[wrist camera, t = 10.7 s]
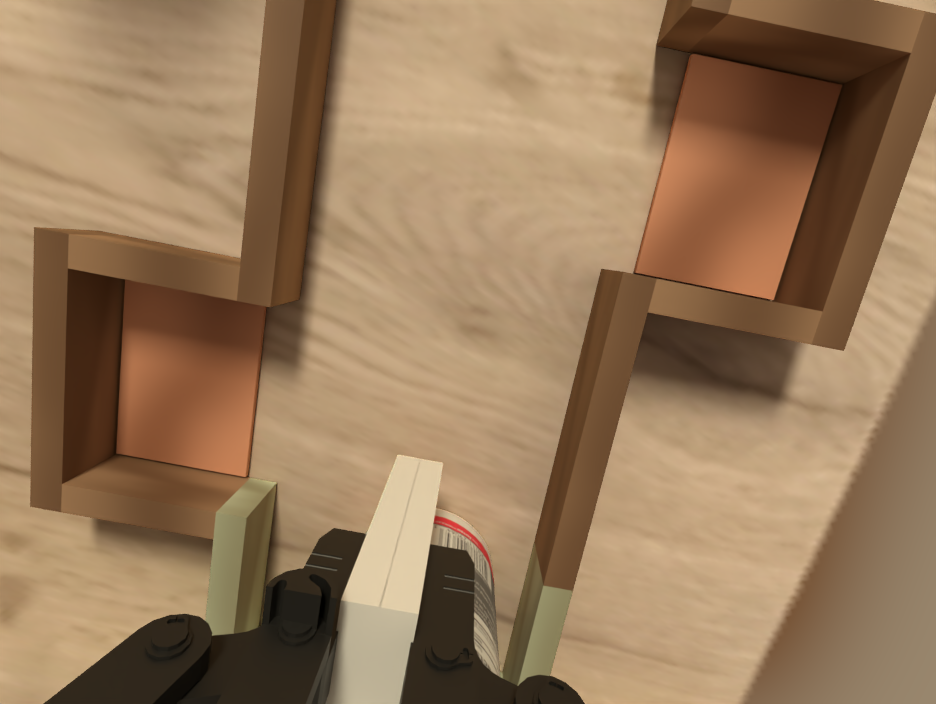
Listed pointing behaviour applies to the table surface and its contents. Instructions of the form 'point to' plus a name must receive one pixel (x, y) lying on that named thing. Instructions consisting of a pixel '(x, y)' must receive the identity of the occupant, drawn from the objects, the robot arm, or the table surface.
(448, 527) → the pill bottle
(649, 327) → the table surface
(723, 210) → the trap lane
